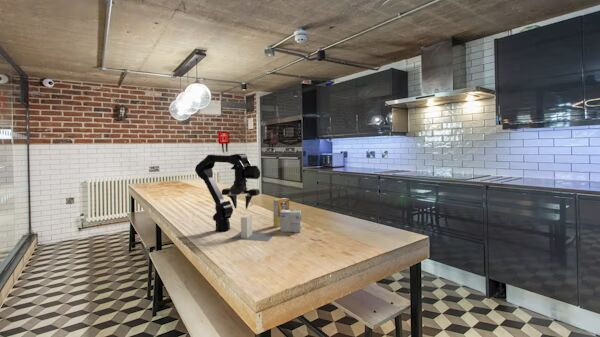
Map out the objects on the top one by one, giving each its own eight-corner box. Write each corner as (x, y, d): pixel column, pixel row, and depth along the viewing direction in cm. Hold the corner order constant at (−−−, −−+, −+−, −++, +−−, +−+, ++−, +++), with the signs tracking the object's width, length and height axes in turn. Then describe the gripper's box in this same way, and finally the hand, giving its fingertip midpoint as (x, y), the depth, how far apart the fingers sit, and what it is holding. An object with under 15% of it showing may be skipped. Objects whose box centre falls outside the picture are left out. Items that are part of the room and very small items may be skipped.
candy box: (284, 223, 188) (283, 197, 187) (289, 225, 186) (289, 198, 184) (273, 226, 182) (272, 199, 181) (278, 228, 179) (278, 200, 178)
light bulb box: (301, 229, 176) (301, 209, 175) (300, 232, 169) (300, 212, 168) (282, 229, 177) (281, 209, 176) (280, 232, 170) (279, 211, 170)
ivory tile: (240, 237, 159) (240, 217, 159) (246, 233, 166) (245, 214, 165) (247, 237, 159) (246, 217, 158) (252, 234, 166) (251, 214, 165)
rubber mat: (229, 239, 157) (229, 239, 157) (241, 232, 171) (241, 231, 170) (267, 242, 153) (267, 241, 153) (276, 234, 167) (275, 233, 166)
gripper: (216, 179, 160) (217, 211, 162) (252, 180, 157) (252, 212, 158) (226, 177, 171) (226, 206, 172) (259, 178, 167) (260, 208, 169)
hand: (241, 208), depth 167 cm, fingers open, 6 cm apart
